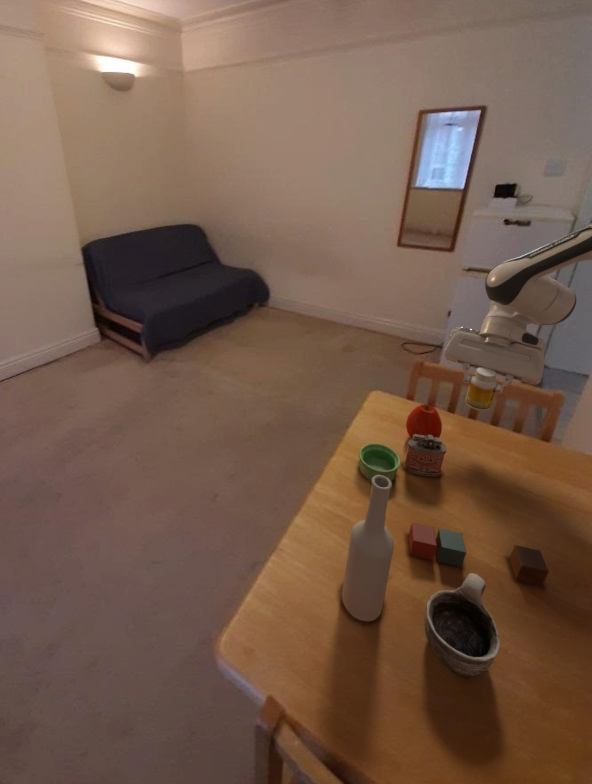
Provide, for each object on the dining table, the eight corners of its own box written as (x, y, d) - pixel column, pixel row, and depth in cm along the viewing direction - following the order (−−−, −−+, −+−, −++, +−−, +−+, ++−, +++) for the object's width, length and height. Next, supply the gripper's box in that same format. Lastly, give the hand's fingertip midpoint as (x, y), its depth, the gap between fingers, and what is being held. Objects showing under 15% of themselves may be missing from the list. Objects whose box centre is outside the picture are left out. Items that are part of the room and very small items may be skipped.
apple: (414, 424, 109) (420, 391, 105) (444, 440, 103) (452, 406, 99) (397, 438, 105) (403, 404, 100) (429, 455, 99) (436, 420, 94)
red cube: (430, 541, 79) (434, 527, 77) (433, 560, 75) (437, 545, 74) (408, 536, 80) (411, 522, 78) (410, 554, 76) (413, 540, 75)
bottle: (377, 629, 65) (402, 508, 53) (337, 608, 68) (352, 489, 56) (385, 592, 70) (409, 473, 58) (347, 574, 73) (363, 458, 61)
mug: (413, 660, 61) (424, 621, 57) (427, 587, 71) (437, 550, 67) (487, 702, 57) (505, 664, 52) (491, 618, 66) (506, 580, 62)
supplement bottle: (464, 396, 101) (472, 363, 97) (488, 400, 99) (498, 367, 95) (465, 409, 97) (474, 375, 93) (491, 413, 95) (501, 379, 91)
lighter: (439, 467, 95) (447, 434, 91) (441, 478, 92) (450, 444, 88) (402, 461, 97) (408, 429, 93) (404, 472, 94) (410, 438, 90)
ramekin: (356, 481, 92) (358, 467, 91) (357, 453, 100) (359, 440, 98) (398, 489, 90) (401, 475, 88) (396, 460, 98) (398, 446, 96)
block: (457, 547, 77) (461, 533, 76) (461, 566, 74) (466, 552, 72) (434, 542, 78) (438, 528, 77) (437, 561, 75) (441, 547, 73)
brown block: (534, 564, 74) (540, 550, 72) (542, 586, 70) (549, 571, 69) (509, 558, 75) (514, 544, 73) (515, 579, 71) (521, 565, 70)
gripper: (453, 319, 102) (434, 369, 99) (553, 342, 89) (534, 400, 87) (454, 329, 106) (436, 376, 104) (550, 352, 94) (532, 406, 91)
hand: (481, 387), depth 95 cm, fingers closed on supplement bottle, 5 cm apart
